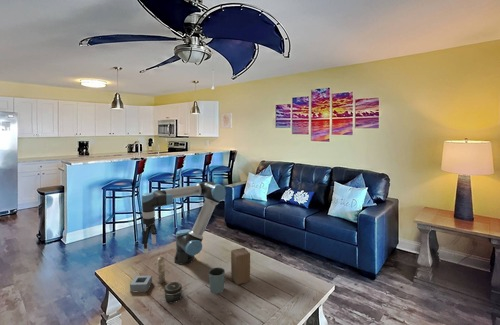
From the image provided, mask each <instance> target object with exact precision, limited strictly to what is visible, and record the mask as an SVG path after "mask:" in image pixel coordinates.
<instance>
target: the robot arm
mask: <svg viewBox="0 0 500 325" xmlns="http://www.w3.org/2000/svg"><path fill="white" fill-rule="evenodd" d="M192 196H199V197H200V196H204V202H203V204H202V206H201V209H200V211H199V214H198V215H197V218H196V220H195V222H194V224H193V227H192V229H181V230H178V231H176V233H175V245H176V246H175V248H176V250H175V254H174V258H173V261H174V263H176V264H177V265H178V264H179V265H186V264H190V263H193V262H194V261H195V256H196V255H198V254H200V252H201V251H202V249H203V240H204V236H203V234H204V233H205V231H206V228H207V225H208V223H209V220H210V219H211V217H212V215H213V212H214V211H215V208H216V206H217V205H218V204H220V202H221V201H222V200H224V199H225V197H226V196H227V195H226V187H224V185H222V184H220V183H217V182H214V181H204V182H198V183H196V184H194V185H188V186H181V187H175V188H167V189H162V190H158V189H155V190H152V191H151V192H146V193H143V194H142V195H141V210H142V211H141V214H142V224H143V225H145V227H143V228H142V230H143V232H142V238H141V245H143V254H150V251H149V238H150V234H151V244H152V245H157V235H158V230H157V225H156V214H155V213H156V211H155V209H156V208H159V207H166V206H170V205H172V204H173V203H174V200H175V199H176V200H177V199H180V198H187V197H192Z"/></svg>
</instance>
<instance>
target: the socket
mask: <svg viewBox="0 0 500 325" xmlns="http://www.w3.org/2000/svg"><path fill="white" fill-rule="evenodd" d="M152 278H153V277H152V275H135V277H134V278H133V280H132V281H131V283H129V291H130V293H134V292H133V291H147V290H148V291H149V289H150V287H151V286H152V284H153V279H152ZM151 283H152V284H151ZM149 286H150V287H149ZM148 288H149V289H148ZM148 291H147V292H148Z"/></svg>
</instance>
